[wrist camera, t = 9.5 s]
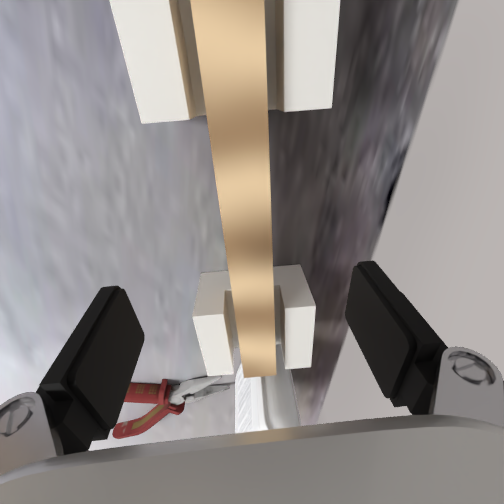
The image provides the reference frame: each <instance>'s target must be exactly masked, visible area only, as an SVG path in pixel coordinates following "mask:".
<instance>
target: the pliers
mask: <svg viewBox="0 0 504 504" xmlns="http://www.w3.org/2000/svg"><path fill="white" fill-rule="evenodd" d="M221 378H222V375H218V376H211V377H205V378H198V379H192V380H187V381H184V382H181V383H180V385H174V386H171V385H168V384H167V379H162V383H161V384H143V383H130V385H129V388H128V391H127V394H126V397H125V400H124V402H134V403H153V404H158V405H157V406H155V407H154V408H153V409H152V410H151V411H149V412H148V413H147V414H146V415H144V416H143V417H141V418H138V419H135V420H131V421H126V422H122V423H118V424H116V426H115V428H114V430H113V434H112V435H113V437H114V438H117V439H121V438H126V437H130V436H135V435H139V434H141V433H143V432H145V431H147V430H148V429H150V428H151V427H152V426H153V425H155V424H156V423H157V422H158V421H160V420H161V419H162V418H163V417H165V416H166V415H167V414H168V413H173V414H176V415H179V414H180V413H182V412H183V410H184V405H185V403H186V404H187V403H192V402H195V401H199V400H201V399H204V398H206V397H209V396H211V395H214V394H216V393H219V392H222V391H224V390H227V389H229V388H230V386H208V385H210V384H212V383H214V382H215V381H217V380H219V379H221Z"/></svg>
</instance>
